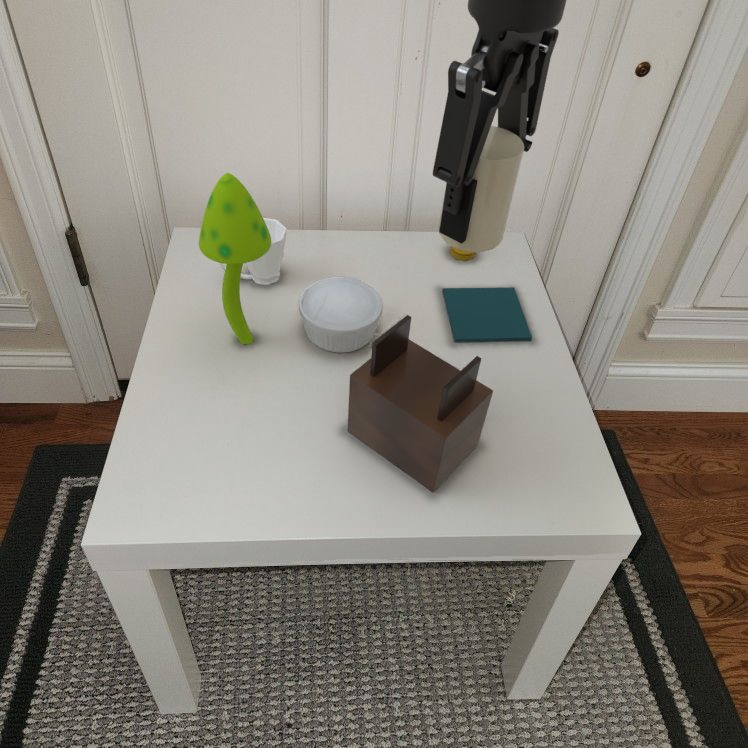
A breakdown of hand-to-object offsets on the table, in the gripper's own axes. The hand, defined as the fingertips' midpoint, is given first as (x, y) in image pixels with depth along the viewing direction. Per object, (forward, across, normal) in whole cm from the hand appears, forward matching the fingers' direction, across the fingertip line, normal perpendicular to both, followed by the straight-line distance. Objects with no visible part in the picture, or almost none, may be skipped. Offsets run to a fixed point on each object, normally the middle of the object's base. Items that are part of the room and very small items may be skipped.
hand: (473, 220), depth 66 cm
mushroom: (+26, +11, -25) cm, 37 cm away
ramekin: (+26, +1, -17) cm, 31 cm away
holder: (+25, +9, +2) cm, 27 cm away
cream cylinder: (+1, 0, 0) cm, 1 cm away
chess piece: (+26, -26, -14) cm, 40 cm away
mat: (+26, -16, -3) cm, 30 cm away
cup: (+26, +1, -34) cm, 42 cm away
